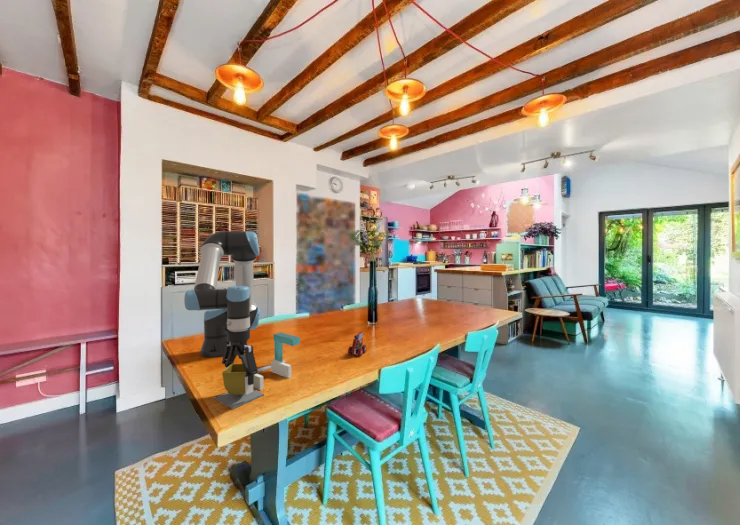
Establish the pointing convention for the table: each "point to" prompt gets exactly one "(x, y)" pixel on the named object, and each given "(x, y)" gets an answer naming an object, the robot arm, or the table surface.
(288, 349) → the table surface
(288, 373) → the white bars
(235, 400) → the mat
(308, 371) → the table surface
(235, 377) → the flower pot
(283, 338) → the gate
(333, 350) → the table surface
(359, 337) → the toy fire truck
